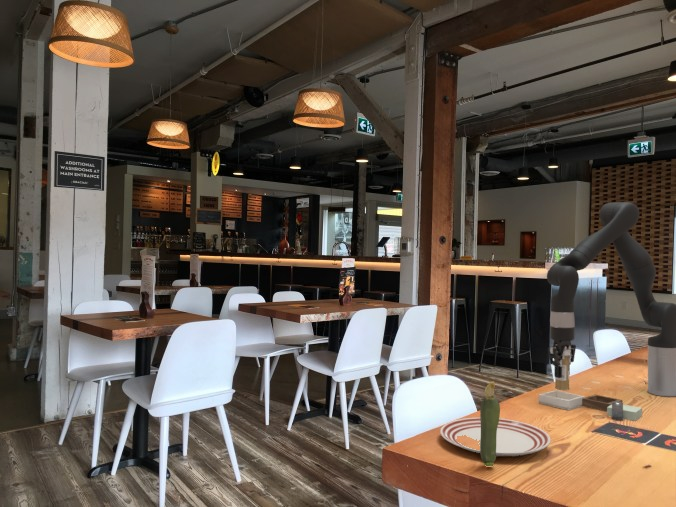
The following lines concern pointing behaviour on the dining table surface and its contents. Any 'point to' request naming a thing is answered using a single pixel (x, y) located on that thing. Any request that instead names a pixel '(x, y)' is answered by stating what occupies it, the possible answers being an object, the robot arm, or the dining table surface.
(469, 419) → the dinner plate
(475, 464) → the dining table surface
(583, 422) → the dining table surface
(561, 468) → the dining table surface
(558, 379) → the sprinkles bottle
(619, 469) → the dining table surface
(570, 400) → the tray
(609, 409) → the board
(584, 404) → the socket block
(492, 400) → the vegetable
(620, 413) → the cylinder
